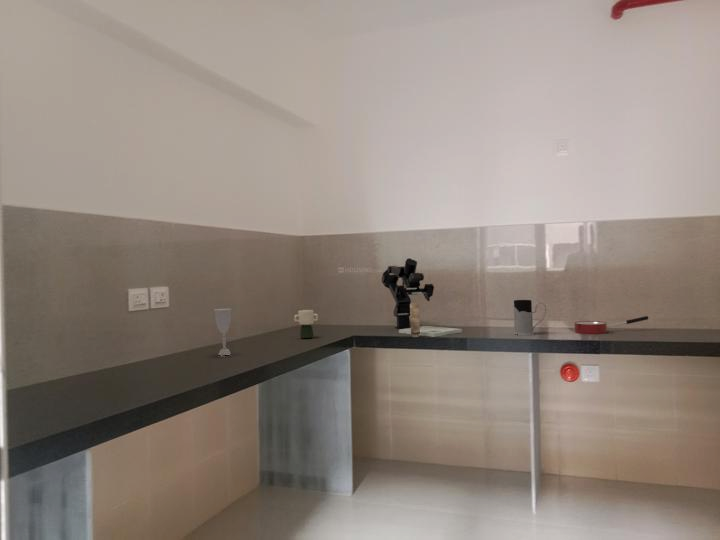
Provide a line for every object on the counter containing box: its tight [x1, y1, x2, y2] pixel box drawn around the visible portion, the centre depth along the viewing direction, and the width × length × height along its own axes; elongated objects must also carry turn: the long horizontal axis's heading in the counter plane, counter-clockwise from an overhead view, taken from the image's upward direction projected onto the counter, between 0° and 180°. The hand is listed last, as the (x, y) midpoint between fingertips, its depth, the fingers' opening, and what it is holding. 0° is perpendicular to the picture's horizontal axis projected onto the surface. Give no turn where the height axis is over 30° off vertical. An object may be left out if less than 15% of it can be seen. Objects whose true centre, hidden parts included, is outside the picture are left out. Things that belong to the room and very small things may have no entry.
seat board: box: [398, 325, 463, 338], centre depth 253 cm, size 23×19×2 cm
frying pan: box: [573, 315, 649, 335], centre depth 235 cm, size 32×13×6 cm, turn 96°
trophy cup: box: [293, 309, 319, 339], centre depth 248 cm, size 11×7×13 cm, turn 99°
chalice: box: [213, 308, 232, 357], centre depth 208 cm, size 7×7×18 cm
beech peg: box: [409, 302, 421, 338], centre depth 240 cm, size 4×4×15 cm
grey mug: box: [513, 299, 547, 336], centre depth 235 cm, size 9×14×15 cm, turn 78°
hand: (419, 301), depth 249 cm, fingers open, 9 cm apart
